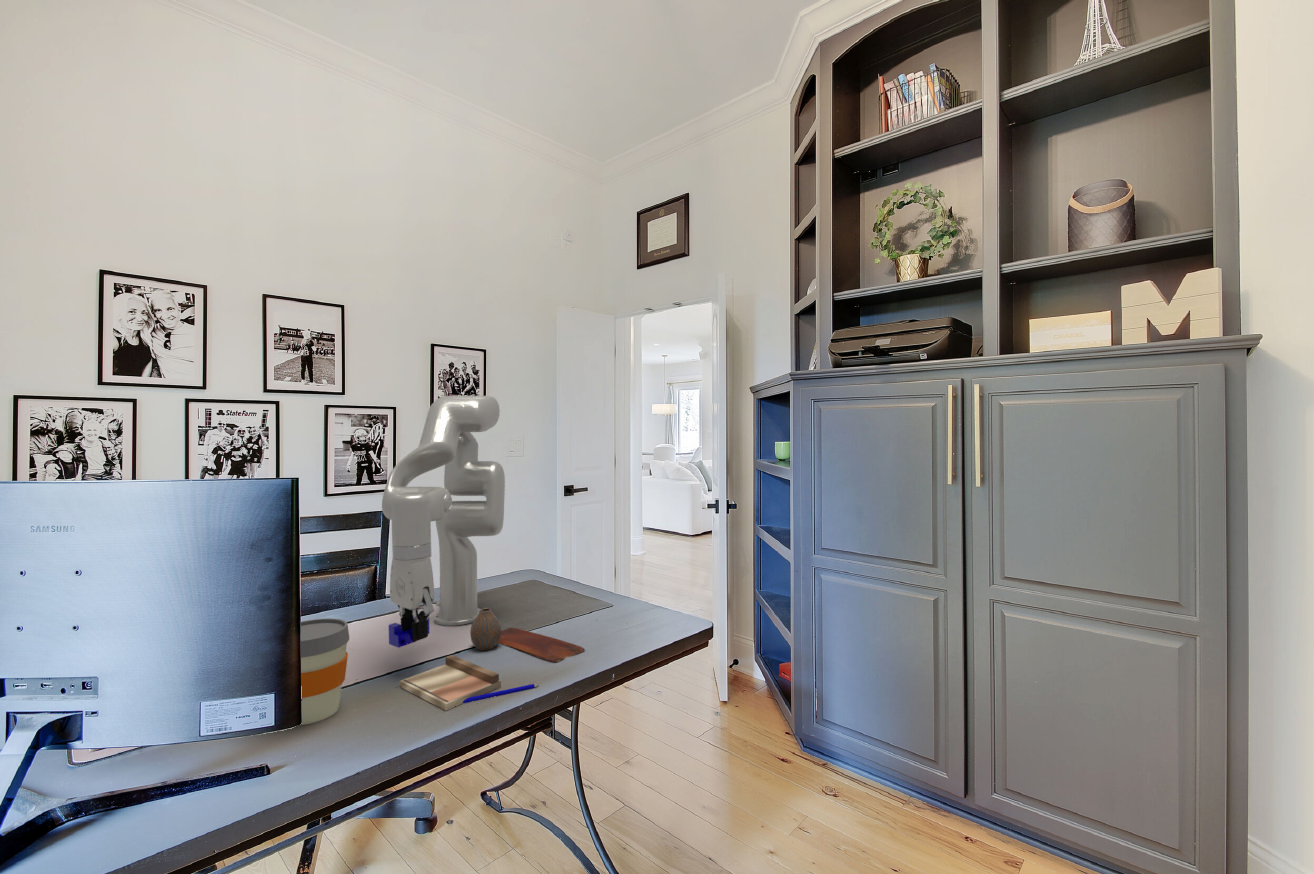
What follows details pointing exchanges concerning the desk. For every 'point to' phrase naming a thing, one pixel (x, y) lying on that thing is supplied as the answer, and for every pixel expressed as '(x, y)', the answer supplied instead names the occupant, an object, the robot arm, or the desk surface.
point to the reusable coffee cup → (322, 667)
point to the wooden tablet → (539, 645)
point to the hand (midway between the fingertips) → (414, 635)
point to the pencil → (500, 693)
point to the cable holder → (400, 635)
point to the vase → (485, 630)
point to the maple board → (452, 683)
